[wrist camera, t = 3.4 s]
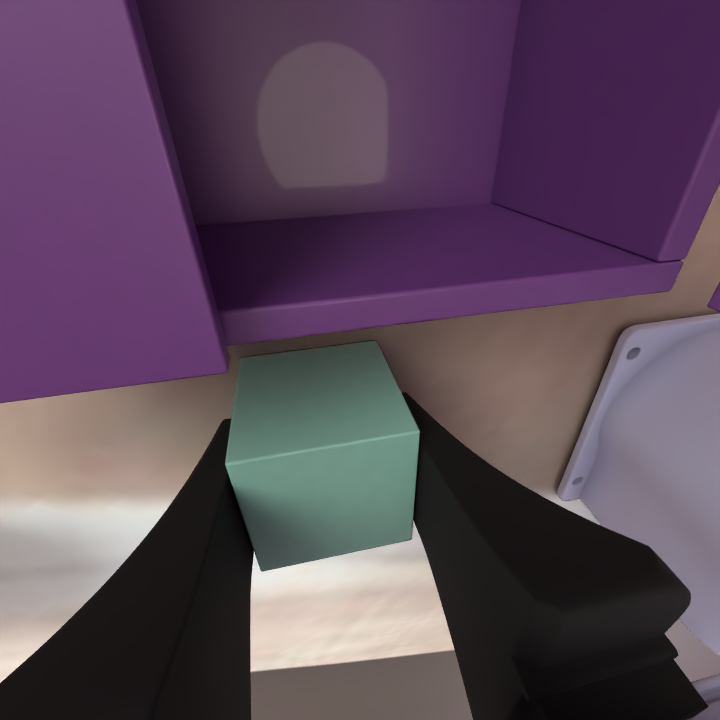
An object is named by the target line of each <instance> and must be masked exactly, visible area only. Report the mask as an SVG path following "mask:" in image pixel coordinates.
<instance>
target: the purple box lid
mask: <svg viewBox="0 0 720 720" xmlns="http://www.w3.org/2000/svg"><path fill="white" fill-rule="evenodd" d="M708 307H709V308H711V309H714V310H716V311H718V312H720V282H719V284H718V286H717V288H716V290H715V292H714V294H713V296H712V298H711V300H710V302H709V303H708Z"/></svg>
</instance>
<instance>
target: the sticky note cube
mask: <svg viewBox="0 0 720 720" xmlns="http://www.w3.org/2000/svg"><path fill="white" fill-rule="evenodd" d="M419 437H420V430H419V428H418V426H417V424H416V422H415V420H414V418H413V416H412V414H411V412H410V410H409V408H408V406H407V403H406V401H405V399H404V397H403V395H402V393H401V391H400V389H399V387H398V385H397V383H396V381H395V379H394V376H393V374H392V372H391V370H390V368H389V366H388V364H387V362H386V360H385V358H384V356H383V354H382V351H381V349H380V347H379V345H378V343H377V341H368V342H360V343H352V344H345V345H337V346H329V347H321V348H313V349H306V350H298V351H290V352H282V353H274V354H267V355H259V356H251V357H243V358H240V361H239V368H238V375H237V382H236V390H235V397H234V404H233V411H232V418H231V425H230V433H229V440H228V447H227V454H226V461H225V466H226V469H227V472H228V475H229V477H230V480H231V483H232V486H233V489H234V492H235V495H236V498H237V501H238V504H239V507H240V510H241V513H242V516H243V519H244V522H245V525H246V528H247V531H248V534H249V537H250V540H251V543H252V546H253V549H254V552H255V555H256V558H257V561H258V564H259V567H260V570H261V571H267V570H272V569H277V568H281V567H286V566H291V565H295V564H300V563H305V562H309V561H314V560H319V559H323V558H328V557H333V556H338V555H342V554H347V553H352V552H356V551H361V550H366V549H370V548H375V547H380V546H384V545H389V544H394V543H398V542H403V541H408V540H411V539H412V528H413V515H414V502H415V489H416V476H417V463H418V450H419Z"/></svg>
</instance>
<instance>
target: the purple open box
mask: <svg viewBox="0 0 720 720" xmlns="http://www.w3.org/2000/svg"><path fill="white" fill-rule="evenodd" d="M719 183H720V0H0V403H5V402H13V401H20V400H28V399H35V398H43V397H50V396H57V395H65V394H72V393H80V392H87V391H95V390H102V389H110V388H117V387H125V386H132V385H140V384H147V383H155V382H162V381H170V380H177V379H185V378H192V377H200V376H207V375H215V374H222V373H227V372H228V370H229V364H230V355H229V352H228V348H227V346H229V345H237V344H245V343H253V342H261V341H269V340H278V339H286V338H294V337H302V336H310V335H318V334H326V333H334V332H342V331H351V330H359V329H367V328H375V327H383V326H391V325H399V324H407V323H416V322H424V321H432V320H440V319H448V318H456V317H464V316H472V315H481V314H489V313H497V312H505V311H513V310H521V309H529V308H537V307H546V306H554V305H562V304H570V303H578V302H586V301H594V300H602V299H610V298H619V297H627V296H635V295H643V294H651V293H659V292H667V291H670V290H671V289H672V287H673V285H674V283H675V281H676V278H677V276H678V274H679V272H680V270H681V267H682V265H683V262H682V261H681V260H683V259H684V258H685V257H686V256H687V254H688V252H689V250H690V247H691V245H692V243H693V241H694V239H695V236H696V234H697V232H698V230H699V228H700V225H701V223H702V221H703V219H704V217H705V214H706V212H707V210H708V208H709V205H710V203H711V201H712V199H713V197H714V194H715V192H716V190H717V188H718V186H719Z"/></svg>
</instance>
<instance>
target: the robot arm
mask: <svg viewBox="0 0 720 720" xmlns="http://www.w3.org/2000/svg"><path fill="white" fill-rule="evenodd" d="M402 395H403V397H404V399H405V401H406V403H407V406H408V408H409V410H410V412H411V414H412V416H413V418H414V420H415V422H416V424H417V426H418V428H419V430H420V437H419V450H418V463H417V476H416V489H415V502H414V515H413V520H414V523H415V525H416V528H417V530H418V532H419V535H420V537H421V540H422V543H423V545H424V548H425V551H426V554H427V557H428V560H429V563H430V567H431V570H432V573H433V576H434V580H435V583H436V586H437V590H438V593H439V596H440V600H441V603H442V607H443V610H444V614H445V617H446V620H447V624H448V627H449V631H450V635H451V638H452V642H453V645H454V649H455V653H456V656H457V660H458V663H459V667H460V671H461V675H462V678H463V682H464V686H465V690H466V694H467V698H468V702H469V705H470V709H471V713H472V717H473V720H720V673H719V674H716V675H713V676H710V677H706V678H703V679H700V680H696V681H693V682H690V681H689V679H688V678H687V677H686V676H685V674H684V673H683V671H682V670H681V669H680V668H679V666H678V665H677V663H676V662H675V661H674V658H676V657H677V656H678V652H677V650H676V649H675V647H674V646H673V644H672V643H671V642H670V640H669V639H668V638H667V637H666V635H665V634H664V633H665V632H666V631H667V630H668V629H669V628H670V627H671V626H672V625H673V624H674V623H675V621H677V620H678V619H679V620H680V621H681V622H682V623H683V624H684V625H685V626H686V628H687V629H689V631H690V632H691V633H693V635H695V636H696V637H697V638H698V639H699V640H700V641H701V642H702V643H703V644H704V645H706V646H707V647H708V648H709V649H711V650H712V651H713V652H714V653H716V654H717V655H718V656H719V657H720V313H718V314H710V315H703V316H696V317H688V318H681V319H674V320H667V321H659V322H652V323H645V324H637V325H633V326H630V327H628V328H627V329H625V330H624V331H623V332H622V333H621V335H620V337H619V338H618V341H617V343H616V346H615V348H614V351H613V353H612V356H611V358H610V361H609V363H608V366H607V368H606V371H605V373H604V376H603V378H602V381H601V383H600V386H599V388H598V391H597V393H596V396H595V398H594V401H593V403H592V406H591V408H590V411H589V413H588V416H587V418H586V421H585V423H584V426H583V428H582V431H581V433H580V436H579V438H578V441H577V443H576V446H575V448H574V451H573V453H572V456H571V458H570V461H569V463H568V466H567V468H566V471H565V473H564V476H563V478H562V481H561V483H560V486H559V488H558V491H557V494H558V495H559V496H560V498H561V499H562V500H563V501H571V500H576V499H580V500H581V501H582V502H583V503H584V505H585V506H586V507H587V508H588V510H589V511H590V512H591V513H592V514H593V516H594V517H595V518H596V519H597V520H598V522H599V523H600V524H601V525H602V526H600V525H598V524H596V523H594V522H592V521H590V520H588V519H585V518H583V517H581V516H579V515H577V514H575V513H573V512H571V511H569V510H567V509H565V508H563V507H561V506H559V505H557V504H555V503H553V502H551V501H550V500H548V499H546V498H544V497H542V496H541V495H539V494H537V493H535V492H534V491H532V490H530V489H528V488H526V487H525V486H523V485H521V484H520V483H518V482H516V481H515V480H513V479H511V478H510V477H508V476H507V475H505V474H504V473H502V472H501V471H499V470H498V469H496V468H495V467H493V466H492V465H490V464H489V463H487V462H486V461H485V460H483V459H482V458H481V457H479V456H478V455H477V454H475V453H474V452H473V451H471V450H470V449H469V448H467V447H466V446H465V445H464V444H462V443H461V442H460V441H459V440H458V439H456V438H455V437H454V436H453V435H452V434H450V433H449V432H448V431H447V430H446V429H445V428H444V427H442V426H441V425H440V424H439V423H438V422H437V421H436V420H435V419H433V418H432V417H431V416H430V415H429V414H428V413H427V412H426V411H425V410H424V409H423V408H422V407H421V406H420V405H419V404H418V403H417V402H416V401H415V400H413V399H412V398H411V397H410V396H409V395H408V394H407V393H406V392H403V393H402ZM230 425H231V419H224V420H223V421H222V422H221V424H220V426H219V428H218V429H217V431H216V433H215V435H214V437H213V439H212V440H211V442H210V444H209V446H208V447H207V449H206V451H205V453H204V454H203V456H202V458H201V459H200V461H199V462H198V464H197V466H196V467H195V469H194V470H193V472H192V474H191V475H190V477H189V478H188V480H187V481H186V483H185V484H184V486H183V487H182V489H181V490H180V492H179V493H178V494H177V496H176V497H175V499H174V500H173V502H172V503H171V504H170V506H169V507H168V509H167V510H166V511H165V513H164V514H163V515H162V517H161V518H160V519H159V521H158V522H157V523H156V525H155V526H154V527H153V528H152V530H151V531H150V532H149V533H148V535H147V536H146V537H145V538H144V540H143V541H142V542H141V543H140V544H139V546H138V547H137V548H136V549H135V550H134V552H133V553H132V554H131V555H130V556H129V557H128V558H127V559H126V561H125V562H124V563H123V564H122V565H121V566H120V567H119V569H118V570H117V571H116V572H115V573H114V574H113V575H112V576H111V577H110V579H109V580H108V581H107V582H106V583H105V584H104V585H103V586H102V587H101V588H100V589H99V590H98V591H97V592H96V593H95V594H94V595H93V596H92V597H91V598H90V599H89V600H88V601H87V602H86V603H85V604H84V605H83V606H82V607H81V608H80V609H79V610H78V611H77V612H76V613H75V614H74V615H73V616H72V617H71V618H70V619H69V620H68V621H67V622H66V623H65V624H64V625H63V626H62V627H61V628H60V629H59V630H58V631H57V632H56V633H55V634H54V635H53V636H52V637H51V638H50V639H49V640H48V641H47V642H46V643H45V644H43V645H42V646H41V647H40V648H39V649H38V650H37V651H36V652H35V653H34V654H33V655H31V656H30V657H29V658H28V659H27V660H26V661H25V662H24V663H22V664H21V665H20V666H19V667H18V668H17V669H16V670H15V671H13V672H12V673H11V674H10V675H9V676H8V677H7V678H6V679H4V680H3V681H2V682H1V683H0V720H251V684H250V683H251V682H250V592H251V575H252V564H253V554H254V549H253V546H252V543H251V540H250V537H249V534H248V531H247V528H246V525H245V522H244V519H243V516H242V513H241V510H240V507H239V504H238V501H237V498H236V495H235V492H234V489H233V486H232V483H231V480H230V477H229V475H228V472H227V469H226V466H225V461H226V454H227V447H228V440H229V433H230Z"/></svg>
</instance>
